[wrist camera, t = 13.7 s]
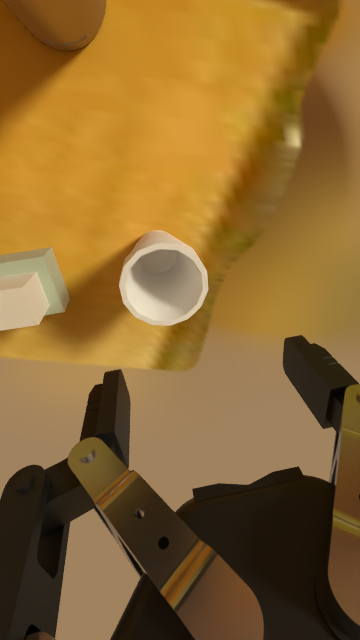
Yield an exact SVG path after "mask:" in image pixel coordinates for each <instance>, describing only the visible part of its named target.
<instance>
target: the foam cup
mask: <svg viewBox="0 0 360 640" xmlns="http://www.w3.org/2000/svg"><path fill="white" fill-rule="evenodd" d="M119 288H120V292H121V296H122V300H123V303H124V305H125V306H126V307H127V308H128V309H129V310H130V312H131V313H132V314H133V315H134V316H135V317H136V318H138V319H140V320H142V321H145V322H147V323H149V324H151V325H173V324H176V323H178V322H181V321H184V320H187V319H188V318H190V317H191V316H192V315H193V314H194V313H195V312H196V311H197V310H198V309H199V308H200V307H201V306H202V304H203V301H204V299H205V296H206V294H207V292H208V278H207V271H206V269H205V267H204V266H203V264H202V262H201V261H200V259H199V257H198V256H197V254H196V253H195V251H194V249H193V248H191V247H189V246H188V245H186V244H184V243H183V242H181V241H179V240H178V239H176V238H175V237H173V236H172V235H170V234H168V233H167V232H165V231H160V230H153V231H150V232H148V233H145V234H144V235H143V236H142V237H141V238H140V239H139V240H138V242H137V243H136V245H135V247H134V248H133V250H132V251H131V253H130V254H129V255H128V256H127V257H126V258H125V260H124V264H123V268H122V272H121V275H120V281H119Z"/></svg>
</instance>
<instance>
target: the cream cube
mask: <svg viewBox="0 0 360 640" xmlns="http://www.w3.org/2000/svg"><path fill="white" fill-rule="evenodd" d="M48 308H49V303H48V300H47V298H46V295H45V293H44V290H43V287H42V285H41V282H40V279H39V277H38V274H37V272H30V273H23V274H16V275H9V276H2V277H0V331H2V330H8V329H15V328H21V327H28V326H35V325H39V324H40V322H41V320H42V318H43V317H44V315H45V313H46V312H47V310H48Z"/></svg>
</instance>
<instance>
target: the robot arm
mask: <svg viewBox="0 0 360 640" xmlns="http://www.w3.org/2000/svg"><path fill="white" fill-rule="evenodd" d="M3 1H4V2H5V4H6V5H7V6H8V7H9V8H10V9H11V11H12V12H13V13H14V14H15V15H16V16H17V18H18V19H19V20H20V21H21V22H22V23H23V24H24V26H25V27H26V28H27V29H28V30H29V31H30V32H31V33H32V35H33V36H35V37H36V38H37V39H38V40H40V41H41V42H42V43H44V44H46V45H48V46H50V47H51V48H54V49H58V50H62V51H73V50H77V49H80V48H82V47H84V46H85V45H87V44H88V43H90V41H91V40H92V39H93V38H94V37H95V36H96V34H97V32H98V31H99V29H100V27H101V24H102V21H103V18H104V14H105V5H106V0H3ZM283 367H284V371H285V374H286V375H287V377H288V378H289V380H290V381H291V383H292V384H293V386H294V387H295V388H296V390H297V392H298V393H299V394H300V396H301V397H302V399H303V400H304V402H305V403H306V404H307V406H308V408H309V409H310V411H311V412H312V413H313V415H314V416H315V418H316V419H317V421H318V422H319V424H320V425H321V427H322V428H323V429H325V428H330V427H333V428H334V429H335V431H336V435H335V441H334V448H333V456H332V465H331V471H330V478H329V482H327V481H325V480H323V479H320V478H316V477H312V476H306V475H303V474H302V472H301V470H300V468H299V467H294V468H289V469H285V470H280V471H275V472H272V473H270V474H268V475H267V476H264V477H263V478H261V479H259V480H257V481H255V482H253V483H251V484H249V485H238V484H214V485H209V486H204V487H200V488H195V489H193V496H194V498H192V499H190V500H189V501H187V502H186V503H184V504H183V505H182V506H181V507H180V508H179V509H178V510H177V511H176V512H174V511H173V510H172V509H171V508H170V507H169V506H168V505H167V504H166V503H165V502H164V501H163V499H162V498H161V497H160V496H159V495H158V494H157V493H156V492H155V491H154V490H153V489H152V488H151V487H150V486H149V485H148V483H147V482H146V481H145V480H144V479H143V478H142V477H141V476H140V475H139V474H138V473H137V472H136V471H134V470H133V471H130V470H129V469H128V468H129V437H130V436H129V435H130V397H129V392H128V389H127V386H126V382H125V379H124V376H123V373H122V371H121V369H119V370H113V371H108V372H105V374H104V379H103V384H98V385H95V386H94V388H93V389H92V391H91V392H90V394H89V398H88V402H87V403H88V405H87V407H86V413H85V417H84V422H83V427H82V432H81V437H80V442H79V443H77V444H76V445H75V446H74V448H72V450H71V452H70V453H69V456H68V458H66V459H65V460H63V461H61V462H59V463H57V464H55V465H53V466H51V467H49V468H47V469H45V470H44V469H43V468H42V467H41V466H38V465H30V466H27V467H25V468H22V469H21V470H19V471H18V472H16V473H15V474H14V475H13V476H12V477H11V478H10V479H9V481H8V482H7V484H6V485H5V488H4V490H3V493H2V496H1V499H0V640H55V634H56V627H57V619H58V611H59V603H60V595H61V588H62V581H63V572H64V565H65V557H66V550H67V542H68V534H69V527H70V521H72V520H74V519H76V518H77V517H79V516H81V515H83V514H84V513H86V512H88V511H90V510H91V509H94V510H95V512H96V513H97V514H98V516H99V517H100V519H101V520H102V522H103V523H104V524H105V526H106V528H107V529H108V530H109V532H110V533H111V535H112V536H113V538H114V539H115V540H116V542H117V544H118V545H119V547H120V548H121V550H122V552H123V553H124V554H125V556H126V558H127V559H128V561H129V562H130V564H131V565H132V567H133V568H134V570H135V571H136V572H137V574H138V575H139V577H140V580H139V582H138V585H137V587H136V588H135V590H134V592H133V594H132V596H131V599H130V601H129V603H128V605H127V607H126V609H125V611H124V613H123V615H122V617H121V619H120V621H119V623H118V625H117V627H116V629H115V631H114V633H113V635H112V637H111V639H110V640H360V384H359V383H358V382H357V381H356V380H355V379H354V378H353V377H352V376H351V375H350V374H349V373H348V372H347V371H346V370H345V369H344V368H343V367H342V366H341V365H340V364H339V363H338V362H337V361H336V360H335V359H334V358H333V357H332V356H331V354H330V353H329V352H327V350H326V349H324V348H322V347H321V346H319V345H317V344H315V343H314V344H310V343H309V342H308V341H307V340H306V339H305V338H304V337H303V336H302V335H300V336H294V337H289V338H285V341H284V352H283Z"/></svg>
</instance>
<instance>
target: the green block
mask: <svg viewBox="0 0 360 640" xmlns="http://www.w3.org/2000/svg"><path fill="white" fill-rule="evenodd" d="M30 272H37V274H38V277H39V279H40V282H41V285H42V287H43V290H44V293H45V295H46V298H47V300H48V303H49V308H48V310H47V312H46V313H45V315H50V314H56V313H62V312H65V309H66V307H67V305H68V303H69V301H70V296H69V294H68V291H67V288H66V286H65V283H64V280H63V277H62V275H61V272H60V269H59V266H58V264H57V261H56V258H55V256H54V253H53V250H52V247H49V248H43V249H37V250H31V251H25V252H19V253H13V254H7V255H1V256H0V277H2V276H9V275H16V274H23V273H30ZM45 315H44V316H45Z"/></svg>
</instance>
